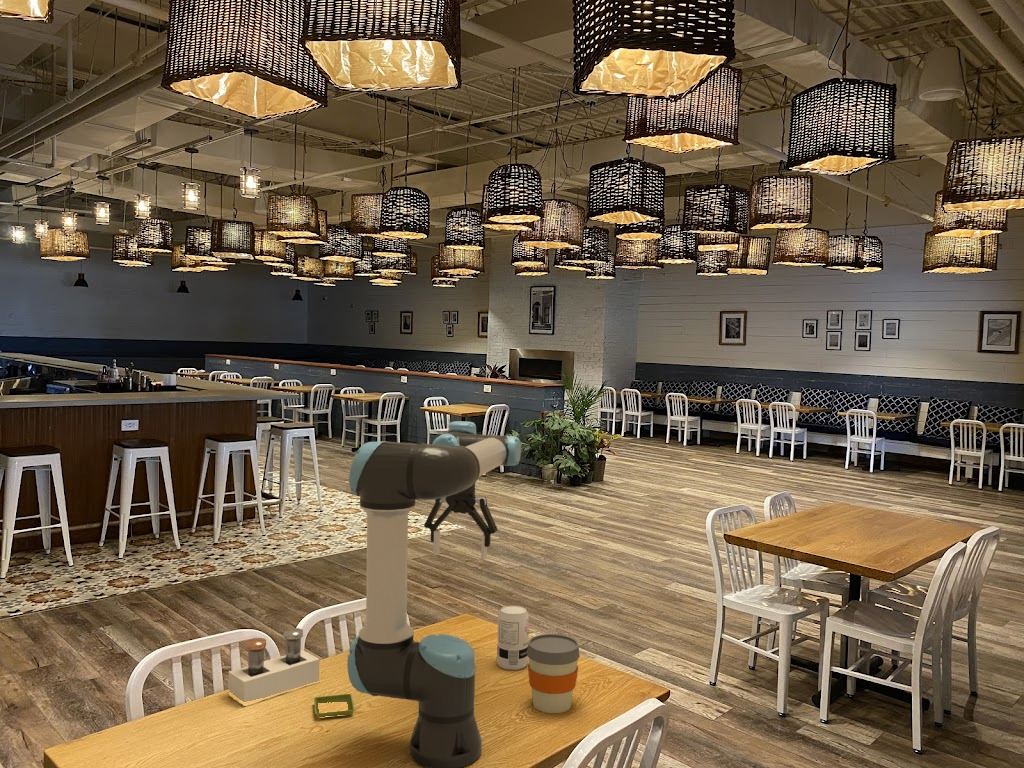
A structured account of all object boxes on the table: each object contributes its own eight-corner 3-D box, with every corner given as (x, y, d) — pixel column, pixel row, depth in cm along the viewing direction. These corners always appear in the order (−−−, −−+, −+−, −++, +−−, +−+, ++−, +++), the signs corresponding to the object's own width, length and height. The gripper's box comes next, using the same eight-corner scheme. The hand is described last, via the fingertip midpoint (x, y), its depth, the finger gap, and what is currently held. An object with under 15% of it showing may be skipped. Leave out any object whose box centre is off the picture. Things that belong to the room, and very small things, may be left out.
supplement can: (492, 661, 216) (493, 607, 215) (519, 657, 219) (520, 603, 218) (504, 673, 208) (505, 616, 208) (532, 668, 212) (534, 612, 211)
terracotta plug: (251, 680, 189) (251, 646, 188) (242, 674, 192) (242, 641, 192) (269, 675, 192) (269, 641, 192) (260, 669, 195) (260, 636, 195)
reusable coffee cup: (541, 688, 199) (543, 629, 199) (587, 701, 193) (588, 640, 192) (516, 708, 189) (517, 645, 188) (563, 722, 182) (564, 657, 181)
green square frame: (354, 718, 182) (354, 709, 182) (315, 722, 180) (315, 713, 180) (351, 701, 191) (351, 693, 191) (313, 705, 188) (313, 697, 188)
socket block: (244, 707, 186) (244, 682, 186) (228, 696, 192) (228, 671, 191) (319, 682, 200) (319, 659, 200) (302, 672, 206) (302, 650, 206)
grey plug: (289, 669, 196) (289, 636, 196) (280, 663, 199) (280, 631, 199) (306, 663, 199) (306, 631, 199) (296, 658, 202) (296, 626, 202)
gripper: (509, 479, 217) (507, 556, 218) (423, 473, 223) (422, 548, 224) (501, 483, 209) (500, 563, 210) (413, 477, 216) (412, 555, 217)
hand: (460, 556), depth 217 cm, fingers open, 13 cm apart
